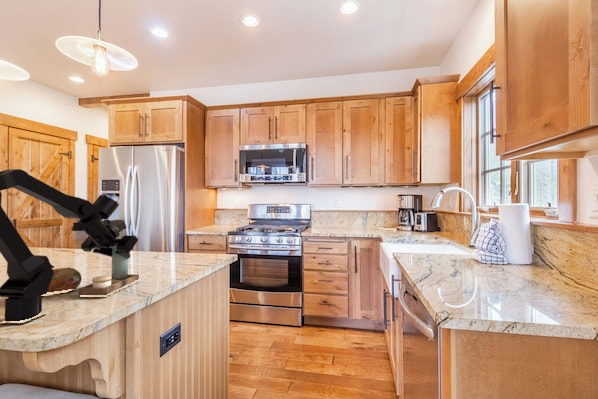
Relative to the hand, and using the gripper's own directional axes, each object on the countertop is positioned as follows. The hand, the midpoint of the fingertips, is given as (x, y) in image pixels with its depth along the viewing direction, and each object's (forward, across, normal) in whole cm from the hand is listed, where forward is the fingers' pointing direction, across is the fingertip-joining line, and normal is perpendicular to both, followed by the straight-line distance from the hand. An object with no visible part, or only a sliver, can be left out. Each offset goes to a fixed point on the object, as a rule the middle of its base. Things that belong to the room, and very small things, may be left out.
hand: (123, 257), depth 103 cm
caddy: (+3, -1, +11) cm, 12 cm away
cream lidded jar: (0, -2, +14) cm, 14 cm away
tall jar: (+4, 0, +6) cm, 7 cm away
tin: (-2, +14, +17) cm, 22 cm away
